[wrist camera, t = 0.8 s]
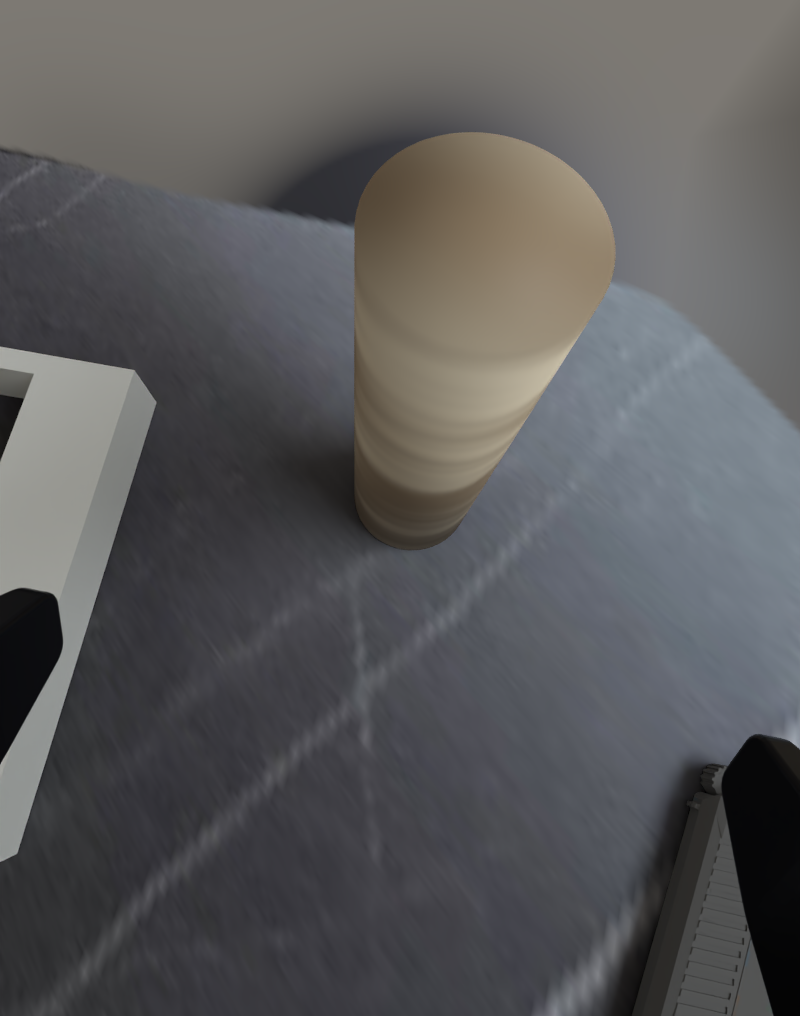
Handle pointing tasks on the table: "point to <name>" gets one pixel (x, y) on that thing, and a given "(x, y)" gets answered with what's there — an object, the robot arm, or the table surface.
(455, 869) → the table surface
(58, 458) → the socket board
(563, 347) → the plug
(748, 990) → the orange-tipped hinged bar
